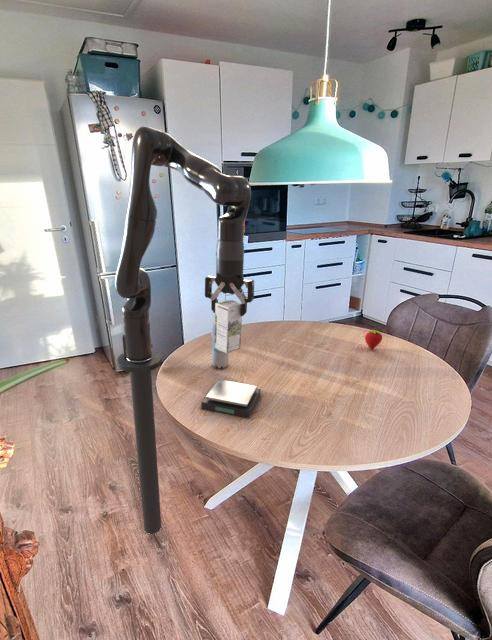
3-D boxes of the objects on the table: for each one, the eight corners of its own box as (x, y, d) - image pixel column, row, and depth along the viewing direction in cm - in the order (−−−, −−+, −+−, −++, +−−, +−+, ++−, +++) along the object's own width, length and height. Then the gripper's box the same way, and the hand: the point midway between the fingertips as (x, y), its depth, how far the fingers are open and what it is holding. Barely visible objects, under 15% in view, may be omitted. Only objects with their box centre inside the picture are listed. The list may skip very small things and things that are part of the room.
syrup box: (227, 343, 121) (228, 298, 115) (241, 349, 117) (243, 303, 111) (214, 348, 117) (214, 301, 111) (227, 354, 113) (228, 306, 107)
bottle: (218, 371, 140) (219, 319, 132) (207, 365, 145) (207, 314, 137) (232, 366, 145) (234, 316, 136) (221, 360, 149) (222, 311, 141)
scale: (201, 409, 117) (201, 402, 116) (216, 387, 130) (216, 381, 129) (248, 418, 114) (249, 411, 113) (260, 395, 126) (260, 389, 125)
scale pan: (205, 399, 117) (205, 396, 116) (218, 381, 127) (218, 379, 127) (246, 406, 114) (247, 404, 113) (257, 388, 124) (257, 386, 124)
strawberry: (359, 347, 167) (363, 325, 163) (374, 345, 169) (379, 324, 165) (367, 352, 162) (372, 330, 158) (383, 351, 164) (387, 328, 160)
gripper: (258, 256, 107) (255, 313, 114) (210, 252, 111) (210, 307, 117) (251, 261, 101) (249, 320, 107) (200, 256, 104) (201, 314, 111)
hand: (228, 313), depth 112 cm, fingers closed on syrup box, 7 cm apart
